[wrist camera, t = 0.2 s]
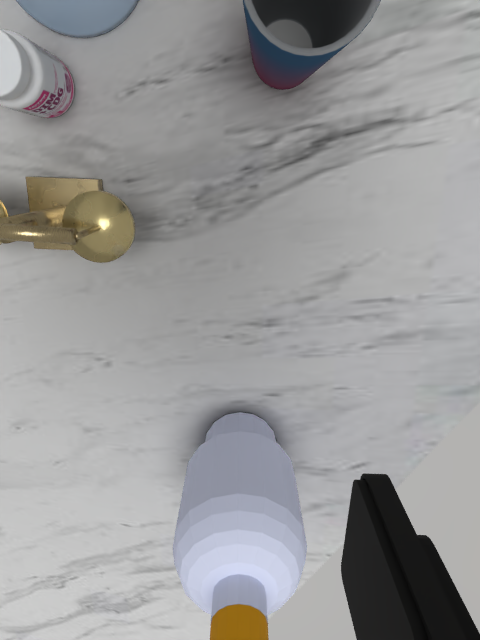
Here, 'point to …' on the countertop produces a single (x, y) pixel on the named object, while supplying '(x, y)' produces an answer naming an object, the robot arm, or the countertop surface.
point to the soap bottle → (239, 528)
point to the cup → (301, 35)
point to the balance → (71, 219)
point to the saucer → (79, 15)
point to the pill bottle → (32, 78)
